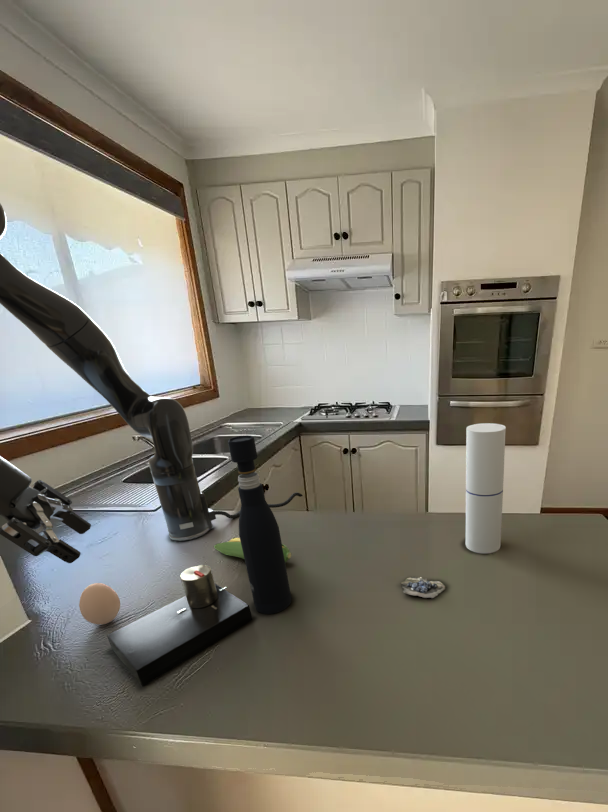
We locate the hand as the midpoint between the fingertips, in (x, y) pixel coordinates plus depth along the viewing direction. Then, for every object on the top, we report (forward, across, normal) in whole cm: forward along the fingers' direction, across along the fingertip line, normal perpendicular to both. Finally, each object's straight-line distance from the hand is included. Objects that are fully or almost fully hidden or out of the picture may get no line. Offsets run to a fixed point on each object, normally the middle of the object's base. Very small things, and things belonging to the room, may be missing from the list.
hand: (81, 543), depth 69 cm
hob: (+18, -13, -4) cm, 22 cm away
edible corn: (+27, +7, -14) cm, 31 cm away
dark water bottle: (+26, -11, -17) cm, 33 cm away
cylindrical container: (+48, -10, -55) cm, 73 cm away
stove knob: (+17, -8, -9) cm, 21 cm away
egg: (+13, -3, +8) cm, 15 cm away
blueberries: (+37, -19, -40) cm, 58 cm away
